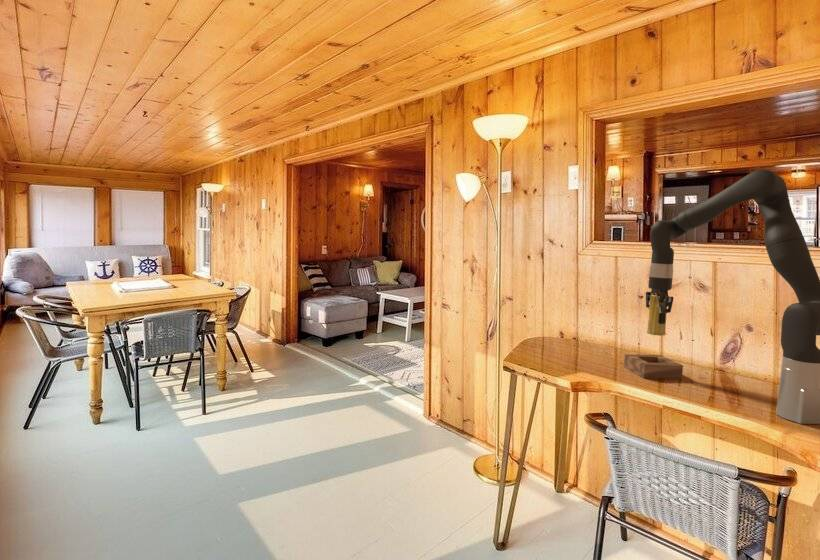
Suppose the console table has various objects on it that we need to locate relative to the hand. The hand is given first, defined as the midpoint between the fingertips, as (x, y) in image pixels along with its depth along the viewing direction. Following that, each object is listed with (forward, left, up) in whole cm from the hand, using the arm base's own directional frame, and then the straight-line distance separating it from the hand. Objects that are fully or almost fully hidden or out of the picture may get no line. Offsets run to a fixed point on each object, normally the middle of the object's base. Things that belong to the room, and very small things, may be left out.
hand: (656, 321), depth 172 cm
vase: (0, 0, -5) cm, 5 cm away
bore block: (0, 0, -19) cm, 19 cm away
